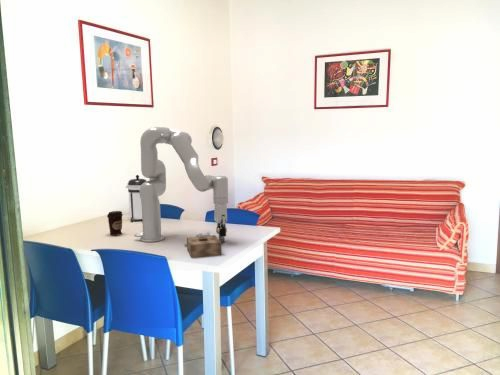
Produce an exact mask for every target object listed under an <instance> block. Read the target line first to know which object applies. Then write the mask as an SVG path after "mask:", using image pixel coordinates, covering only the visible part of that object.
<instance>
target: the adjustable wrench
mask: <svg viewBox="0 0 500 375" xmlns="http://www.w3.org/2000/svg"><path fill="white" fill-rule="evenodd" d="M200 236H211V235H210V233H208V232H207V233H205V234H204V233H202V232H201V233H200V232H199V233H197V234H196V236H195V237H200ZM183 245H184V246H185V248H187V242H185V243H184V244H183ZM184 246H183V247H184Z"/></svg>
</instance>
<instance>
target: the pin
mask: <svg viewBox="0 0 500 375" xmlns="http://www.w3.org/2000/svg"><path fill="white" fill-rule="evenodd" d="M215 232H216V233H219V234H218V239H219V240H220V242H221V244H224V243H225V240H226V236H223V237H220V227H217V226H216V228H215ZM227 232H228V227H227V226H226V233H227Z"/></svg>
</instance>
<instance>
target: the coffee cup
mask: <svg viewBox="0 0 500 375" xmlns="http://www.w3.org/2000/svg"><path fill="white" fill-rule="evenodd" d="M123 215H124V214H123V212H122V211H120V210H113V211H109V212H108V214H107V216H106V217H107V219H108V220H107V222H108V228H109V233H110V234H109V235H110V236H114V237H115V236H121V235H122V234H123V233H122V229H123Z"/></svg>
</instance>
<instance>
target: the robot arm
mask: <svg viewBox="0 0 500 375" xmlns="http://www.w3.org/2000/svg"><path fill="white" fill-rule="evenodd" d="M192 142H193V139H192V137H191V135H190V134H189V133H187V132H185V131H181V130H177V129H172V128H169V127H166V126H165V127H164V126H163V127H162V126H155V127H154V126H153V127H150V128H148V129H146V130H145V131H144V132H142V135H141V136H140V144H139V145H140V172H141V174H142V176H143V177H144V178H147V179H149V180H146V182H144V183H143V184H142V185H141V186H140V190H139V193H140V198H141V204H142V219H141V220H142V221H141V222H142V230H141V231H140V232H134V233H133V234H134V236H133V237H136V238H139V240H140V241H141V242H144V243H155V242H160V241H163V240H165V235H163V234H162V218H161V215H162V214H161V204H160V203H161V202H160V199H159V197H160V196H162V195H164V193H165V192H166V190H167V176H166V175H167V173H166V172H167V171H166V170H167V168H166V166H165V163H164V162H163V161H162V160H161V159H158V157H159V156H158V153H159V152H158V148H157V145H158V144H167V145H170V146H172V148H173V150H175V153H176V154H177V155H178V157H179V159H180V160H181V162H182V164H183V165H184V169H185V172H186V175H187V176H188V179H189V180H190V182H191V183H192V185H193V187H194V188H195V189H196V190H197V191H199V192H201V193H204V192H207V191H210V190H212V192H213V194H212V196H213V197H212V198H213V202H212V203H213V204H214V212H213V213H214V216H213V218H214V221H215V223H216V228H217V227H220V237H223V236H225V237H226V236H227V232H226V227H227V225H226V224H227V223H228V208H227V205H228V204H229V181H228V180H229V179H228V177H227V176H225V175H217V176H216V175H215V176H214V175H209V174H208V175H207V174H206V175H205V174H204V173H203V172H202V169H201V168H200V164H199V154H198V153H197V151H196V150H195V148H194V147H193V145H192ZM216 233H217V232H216ZM217 234H218V235H219V233H217Z"/></svg>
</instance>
